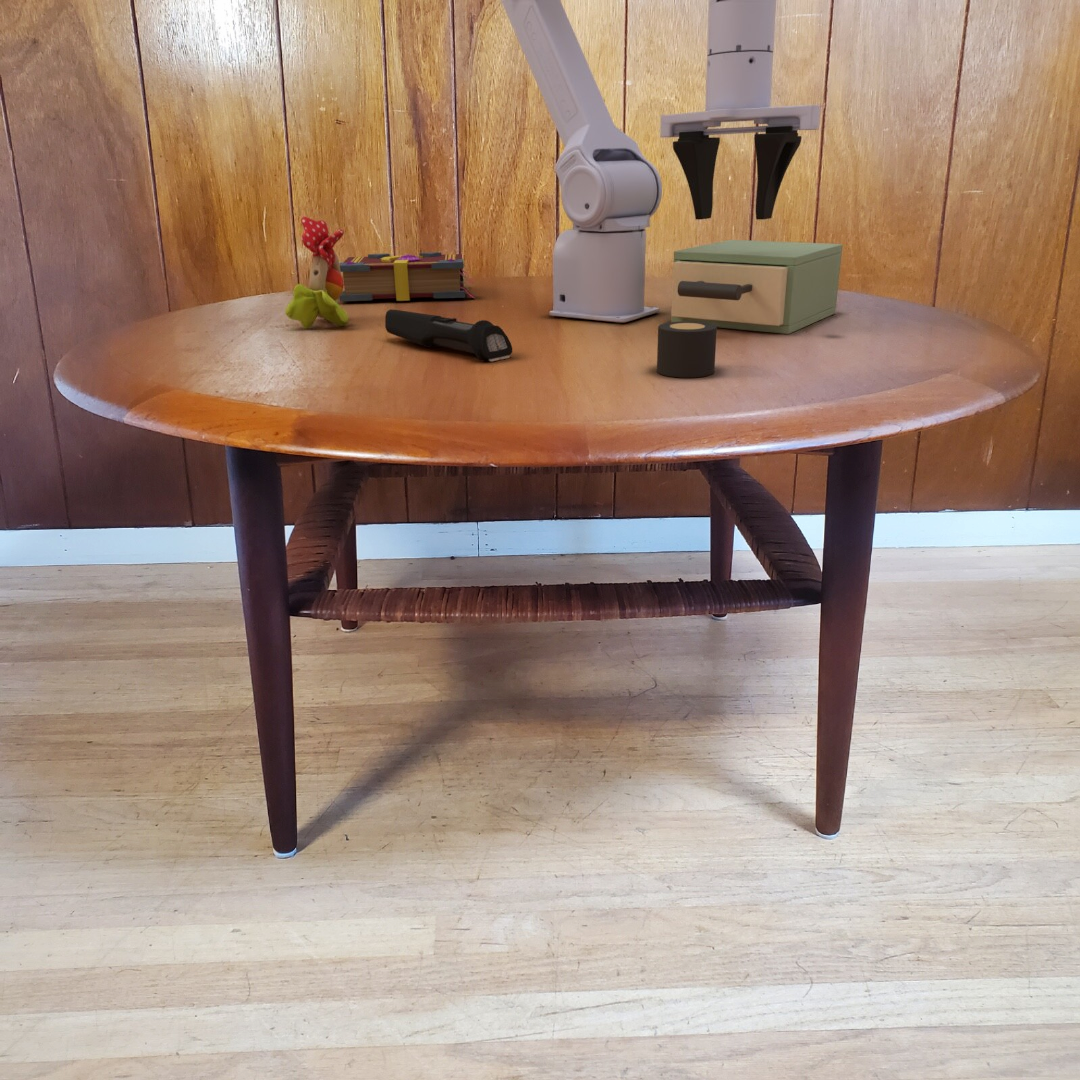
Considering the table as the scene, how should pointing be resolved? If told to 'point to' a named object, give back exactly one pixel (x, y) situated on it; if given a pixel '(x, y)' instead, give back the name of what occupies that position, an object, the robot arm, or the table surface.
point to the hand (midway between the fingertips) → (732, 219)
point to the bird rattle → (319, 278)
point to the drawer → (729, 291)
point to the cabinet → (806, 277)
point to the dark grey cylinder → (686, 349)
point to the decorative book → (403, 276)
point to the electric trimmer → (450, 334)
